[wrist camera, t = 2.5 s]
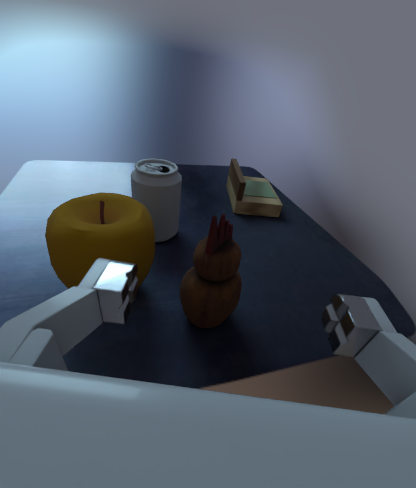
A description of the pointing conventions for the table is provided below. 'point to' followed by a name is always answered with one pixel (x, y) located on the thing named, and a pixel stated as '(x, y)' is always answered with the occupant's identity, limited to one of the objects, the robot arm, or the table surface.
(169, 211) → the can
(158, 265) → the table surface
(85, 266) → the apple
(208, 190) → the table surface
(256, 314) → the table surface
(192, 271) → the wooden figurine
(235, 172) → the l-shaped display stand
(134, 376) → the table surface
